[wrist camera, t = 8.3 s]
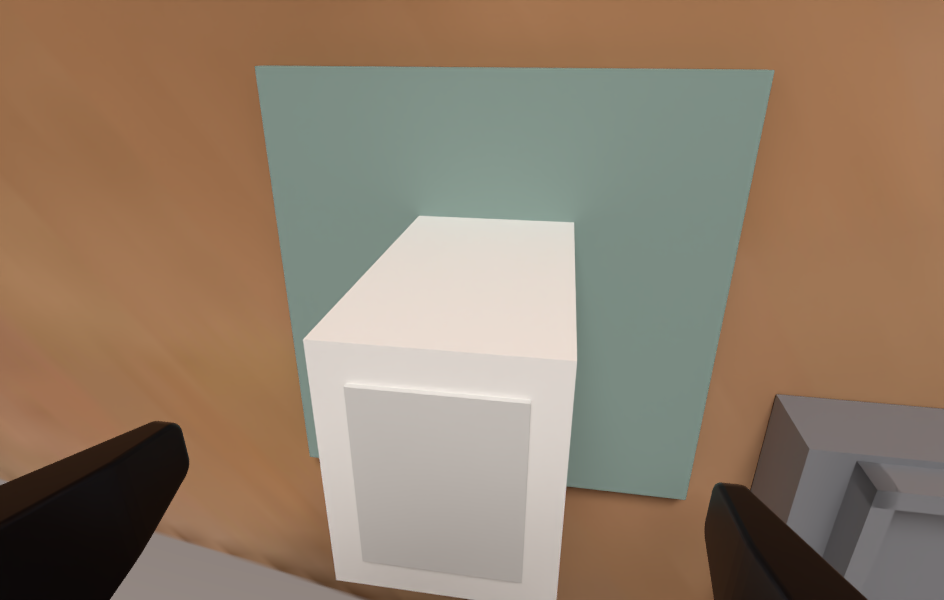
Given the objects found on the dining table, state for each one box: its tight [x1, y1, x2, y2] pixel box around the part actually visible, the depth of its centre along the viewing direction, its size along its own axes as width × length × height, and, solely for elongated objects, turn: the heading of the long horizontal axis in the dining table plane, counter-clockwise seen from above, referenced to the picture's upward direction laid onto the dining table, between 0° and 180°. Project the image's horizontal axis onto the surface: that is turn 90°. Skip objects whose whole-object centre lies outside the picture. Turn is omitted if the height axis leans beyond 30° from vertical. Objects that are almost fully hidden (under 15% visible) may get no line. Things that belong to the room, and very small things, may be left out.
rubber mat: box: [255, 66, 774, 500], centre depth 16 cm, size 12×12×1 cm
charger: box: [303, 216, 577, 600], centre depth 12 cm, size 4×5×7 cm
